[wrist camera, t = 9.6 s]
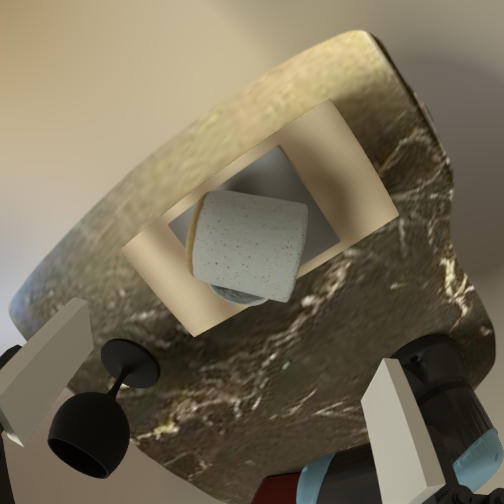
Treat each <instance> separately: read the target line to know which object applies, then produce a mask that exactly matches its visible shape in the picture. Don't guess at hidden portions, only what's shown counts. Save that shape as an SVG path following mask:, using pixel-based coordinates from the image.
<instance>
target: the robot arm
mask: <svg viewBox="0 0 504 504" xmlns="http://www.w3.org/2000/svg"><path fill="white" fill-rule="evenodd" d="M93 349H94V348H93V342H92V335H91V327H90V319H89V310H88V301H86V300H82V299H79V298H76V297H73V298H72V299H71V300H70V301H69V302H68V303H67V304H66V305H65V306H64V307H63V308H62V309H61V310H59V311H58V312H57V313H56V314H55V315H54V316H53V317H52V318H51V319H50V320H49V321H48V322H47V323H46V324H45V325H44V326H43V327H42V328H41V329H40V330H39V331H38V332H37V333H36V334H35V335H34V336H33V337H32V338H31V339H30V340H29V341H28V342H27V343H26V344H25V345H24V346H23V347H22V346H20V345H16V346H14V347H12V348H10V349H8V350H7V351H6V352H5V353H4V354H3V355H2V356H1V357H0V504H15V501H14V498H13V493H12V489H11V484H10V479H9V475H8V469H7V464H6V458H5V451H4V444H3V439H2V436H1V433H2V432H3V430H5V432H6V433H7V435H8V437H9V438H10V439H12V440H13V441H15V442H16V443H18V444H20V445H21V446H23V447H24V446H25V445H26V443H27V441H28V440H29V439H30V437H31V436H32V434H33V433H34V431H35V430H36V428H37V427H38V425H39V424H40V422H41V421H42V419H43V418H44V416H45V415H46V413H47V412H48V411H49V409H50V408H51V406H52V405H53V403H54V402H55V400H56V399H57V397H58V396H59V395H60V393H61V392H62V390H63V389H64V388H65V386H66V385H67V384H68V382H69V381H70V380H71V378H72V377H73V375H74V374H75V373H76V371H77V370H78V369H79V367H80V366H81V365H82V363H83V362H84V361H85V359H86V358H87V357H88V355H89V354H90V353H91V351H92V350H93ZM361 403H362V407H363V412H364V416H365V420H366V424H367V429H368V433H369V438H370V442H369V443H366V444H363V445H360V446H357V447H353V448H350V449H347V450H343V451H339V450H337V451H334V452H333V453H332V454H328V455H325V456H322V457H319V458H315V459H313V460H311V461H310V462H308V463H307V464H306V465H305V467H304V468H303V470H302V473H301V476H300V478H299V482H298V487H297V497H296V504H504V488H497V489H495V490H494V491H492V492H491V493H490V494H489V495H481V494H473V493H474V492H475V491H476V490H478V489H479V488H480V487H481V486H483V485H484V484H485V483H486V482H487V481H488V480H489V479H490V478H491V477H492V476H493V475H494V474H495V473H496V471H497V470H498V468H499V467H500V465H501V463H502V461H503V457H504V450H503V447H502V445H501V442H500V440H499V438H498V432H497V430H496V429H495V428H494V426H493V425H492V423H491V421H490V419H489V417H488V415H487V413H486V412H485V410H484V408H483V406H482V405H481V403H480V401H479V399H478V398H477V396H476V394H475V392H474V391H473V389H472V387H471V386H470V384H469V379H468V374H467V371H466V361H465V356H464V354H463V351H462V350H461V348H460V347H459V345H458V344H457V343H456V341H455V340H453V339H452V338H450V337H448V336H444V335H431V336H426V337H423V338H420V339H417V340H415V341H413V342H411V343H409V344H407V345H406V346H404V347H403V348H401V349H400V350H399V351H397V352H396V353H395V354H394V355H393V356H392V357H391V358H390V359H388V358H383V360H382V362H381V364H380V366H379V368H378V370H377V372H376V374H375V375H374V377H373V379H372V381H371V383H370V385H369V387H368V389H367V390H366V392H365V394H364V396H363V398H362V399H361Z"/></svg>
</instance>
